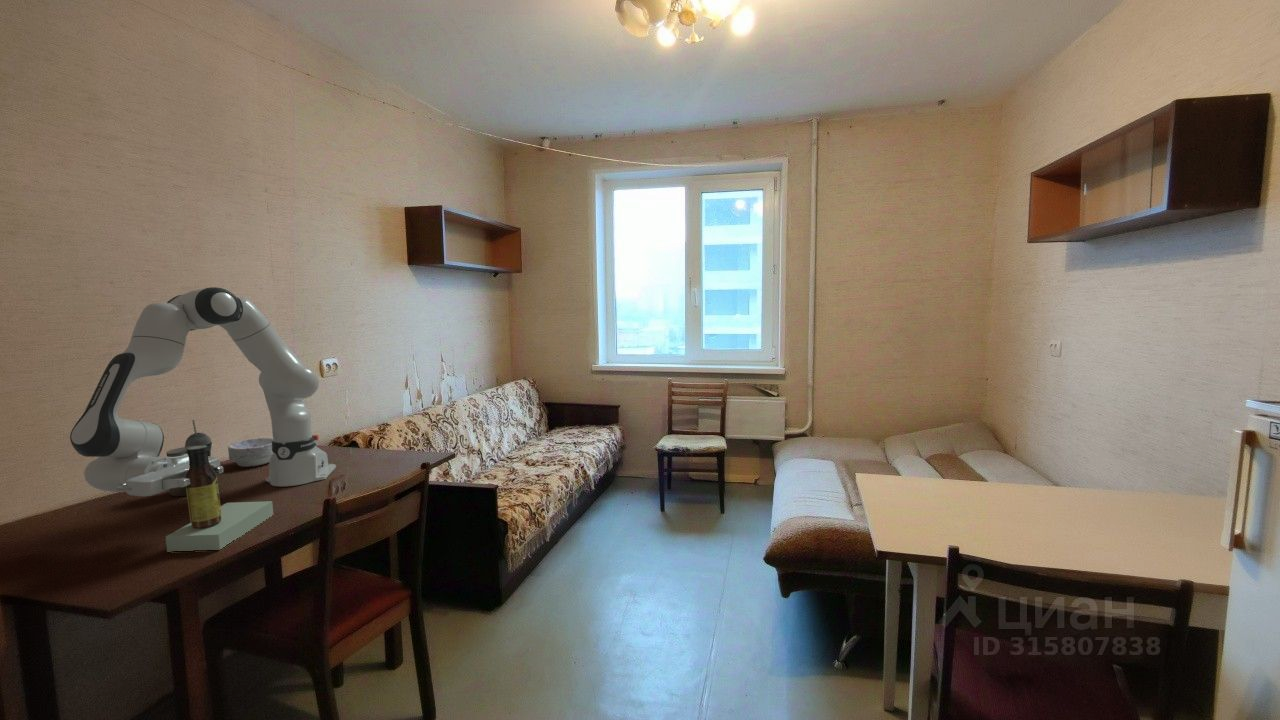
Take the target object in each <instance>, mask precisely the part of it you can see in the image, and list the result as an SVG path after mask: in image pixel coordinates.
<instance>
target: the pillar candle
mask: <svg viewBox="0 0 1280 720" xmlns="http://www.w3.org/2000/svg"><path fill="white" fill-rule="evenodd" d="M190 447H194V446H189V447H186V445H185V444H184V446H183V447H177V448H174V449H173V448H172V449H170V450H167V451H166V452H165V453H166V457H167V456H172V455H178V454H187V449H188V448H190ZM169 493H170V496H171V495H172V497H185V496H186V497H187V492H186V486H185V487H176V488H171V489H169Z"/></svg>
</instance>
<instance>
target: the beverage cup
mask: <svg viewBox="0 0 1280 720" xmlns="http://www.w3.org/2000/svg"><path fill="white" fill-rule="evenodd" d="M192 424H193V425H192V426H193V431H194V433H192V434H190V435H189V436H188V437H187V438H186V440H185V443H184V446H185V445H186V447H189V446H202V445H206V446H207V447H208V452H207V453H208V456H209V457H212V455H211V452H212V444H213V442H212V439H211V436H209V435H208V434H206V433H204V432H197V427H196V423H195V420H193V419H192Z"/></svg>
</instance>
